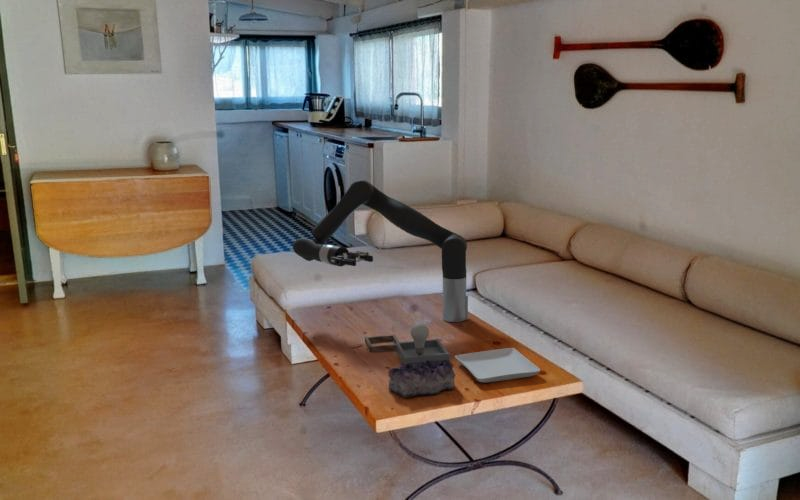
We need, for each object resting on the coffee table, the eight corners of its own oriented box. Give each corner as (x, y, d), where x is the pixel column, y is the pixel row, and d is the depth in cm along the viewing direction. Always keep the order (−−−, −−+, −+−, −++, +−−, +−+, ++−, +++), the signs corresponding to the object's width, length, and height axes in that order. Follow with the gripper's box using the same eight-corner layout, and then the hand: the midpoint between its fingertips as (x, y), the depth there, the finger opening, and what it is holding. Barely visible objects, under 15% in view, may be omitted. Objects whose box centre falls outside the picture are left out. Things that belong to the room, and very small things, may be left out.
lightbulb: (428, 358, 233) (429, 326, 230) (410, 357, 233) (410, 326, 231) (428, 351, 239) (429, 320, 236) (410, 350, 239) (410, 320, 237)
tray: (438, 347, 246) (437, 339, 245) (449, 362, 231) (449, 353, 231) (395, 350, 243) (395, 342, 242) (405, 366, 228) (405, 357, 228)
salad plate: (478, 388, 211) (478, 378, 210) (453, 363, 231) (453, 354, 230) (542, 380, 217) (542, 369, 216) (513, 356, 237) (513, 347, 236)
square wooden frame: (394, 339, 255) (394, 334, 254) (401, 349, 244) (400, 344, 244) (364, 341, 252) (364, 336, 252) (369, 352, 242) (369, 347, 242)
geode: (445, 378, 219) (448, 349, 216) (460, 396, 209) (463, 366, 206) (383, 385, 212) (385, 355, 209) (395, 404, 202) (398, 373, 199)
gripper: (319, 248, 259) (349, 254, 248) (347, 242, 269) (377, 247, 259) (319, 268, 261) (350, 274, 250) (348, 261, 271) (378, 267, 260)
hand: (364, 261), depth 254 cm, fingers open, 8 cm apart
